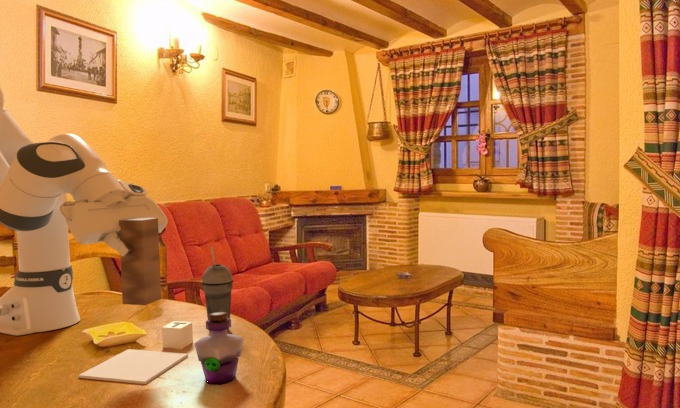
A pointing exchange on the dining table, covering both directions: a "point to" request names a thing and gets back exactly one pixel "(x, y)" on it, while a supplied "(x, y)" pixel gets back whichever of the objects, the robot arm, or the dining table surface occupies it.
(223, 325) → the potion bottle
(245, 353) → the dining table surface
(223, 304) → the beverage cup
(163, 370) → the white square plate
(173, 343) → the letter cube
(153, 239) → the walnut block
